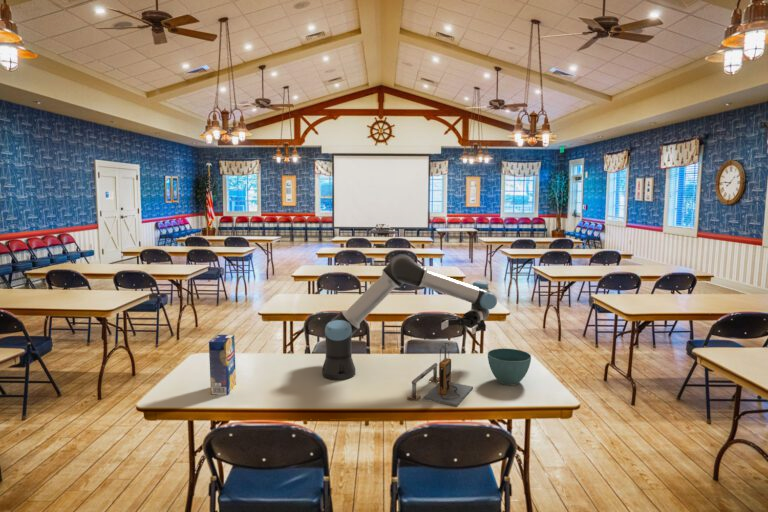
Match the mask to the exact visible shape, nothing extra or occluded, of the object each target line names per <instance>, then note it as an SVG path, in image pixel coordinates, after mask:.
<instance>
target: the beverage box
mask: <svg viewBox="0 0 768 512" xmlns="http://www.w3.org/2000/svg"><path fill="white" fill-rule="evenodd" d="M235 347H236V345H235V334H216V335H215V336H214V337H213V338H212V339H211V340H210V341H208V353H209V359H208V360H209V377H210V380H209V381H210V395H211V394H218V395H217V396H228V395H229V394H230V393H231V392H232V391H231V390H233V389H234V388H235V387H236V386H237V379H236V378H237V377H236V376H237V375H236V371H237V370H236V351H235V350H236V349H235ZM235 385H236V386H235ZM234 386H235V387H234ZM233 387H234V388H233ZM230 391H231V392H230Z"/></svg>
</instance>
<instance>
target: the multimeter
mask: <svg viewBox="0 0 768 512" xmlns="http://www.w3.org/2000/svg"><path fill="white" fill-rule="evenodd" d="M446 344H448V345H450V343H449V342H445V343H444V346H443V345H442V346H441V347H440V351H439V357H441V352H442V348H443V350H446V349H447V346H446ZM448 355H450V352H448ZM443 356H444V358H443V359H442V360H439V363H438V377H439V382H438V384H439V394H443V395H445V394H446V393H447V392H448V391H449V390H450V389H451V382H452V359H451V358H447V352H444V355H443ZM453 387H454V386H453ZM455 388H456V387H455ZM456 390H457V388H456ZM456 390H455V391H456ZM455 391H454V392H455ZM456 393H457V392H456ZM457 394H458V395H460V394H459V393H457ZM460 396H461V395H460ZM441 397H442V396H441ZM456 397H458V396H456ZM462 397H463V396H462ZM452 398H455V396H454V397H450V398H448V399H452ZM443 399H444V398H443Z"/></svg>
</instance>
